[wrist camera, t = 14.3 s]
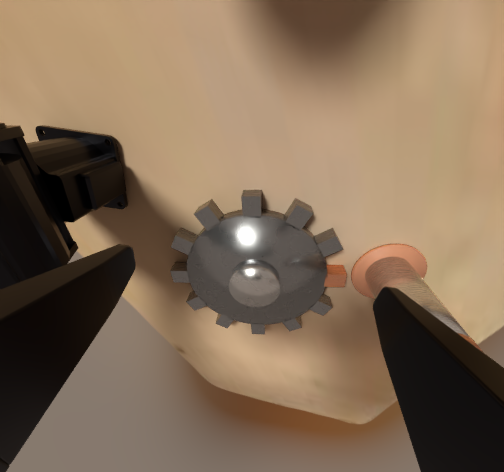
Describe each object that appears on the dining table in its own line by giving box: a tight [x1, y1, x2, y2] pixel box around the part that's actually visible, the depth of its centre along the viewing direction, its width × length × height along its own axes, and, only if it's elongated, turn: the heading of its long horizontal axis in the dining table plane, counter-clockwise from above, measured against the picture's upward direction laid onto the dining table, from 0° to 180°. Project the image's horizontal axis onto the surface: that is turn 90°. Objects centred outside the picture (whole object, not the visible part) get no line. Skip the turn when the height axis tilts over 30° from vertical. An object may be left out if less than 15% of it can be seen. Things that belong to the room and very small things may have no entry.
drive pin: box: [365, 257, 483, 352], centre depth 19 cm, size 4×4×10 cm
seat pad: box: [351, 244, 427, 298], centre depth 23 cm, size 7×7×1 cm
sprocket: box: [170, 190, 347, 334], centre depth 23 cm, size 18×18×3 cm
